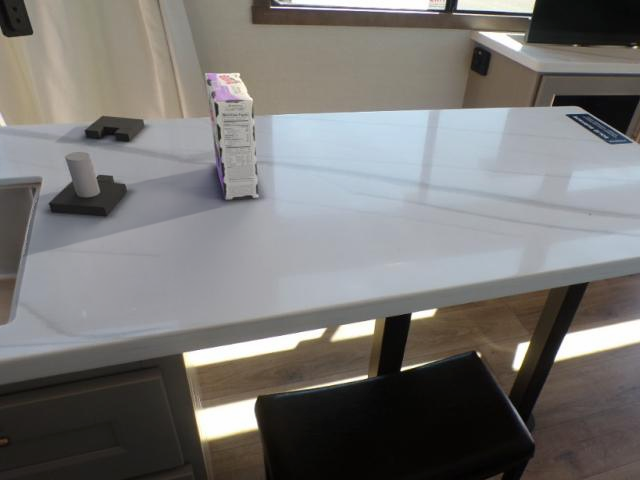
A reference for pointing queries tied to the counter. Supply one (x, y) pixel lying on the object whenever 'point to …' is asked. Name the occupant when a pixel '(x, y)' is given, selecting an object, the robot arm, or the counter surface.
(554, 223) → the counter surface
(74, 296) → the counter surface
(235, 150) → the candy box
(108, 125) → the notch pad
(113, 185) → the pad
